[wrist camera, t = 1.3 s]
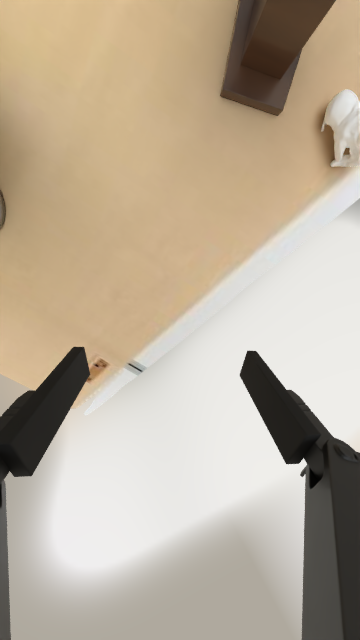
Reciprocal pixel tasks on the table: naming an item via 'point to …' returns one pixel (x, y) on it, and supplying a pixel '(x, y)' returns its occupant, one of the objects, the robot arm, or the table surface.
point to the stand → (268, 49)
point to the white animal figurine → (345, 127)
